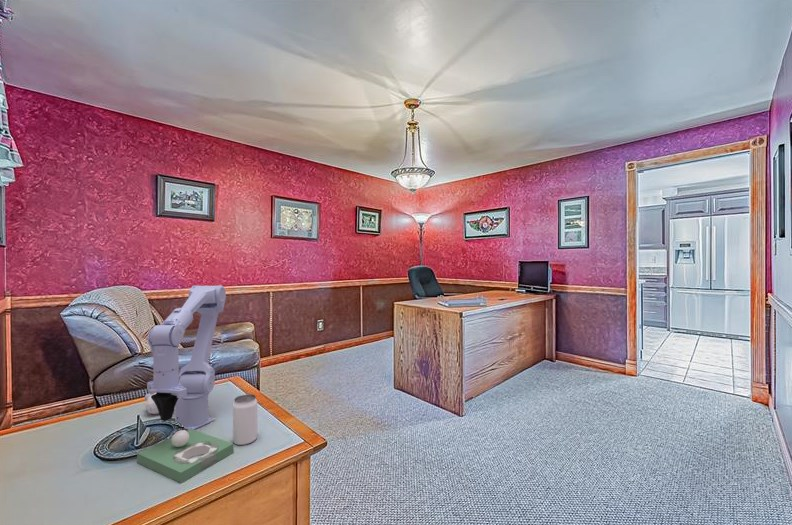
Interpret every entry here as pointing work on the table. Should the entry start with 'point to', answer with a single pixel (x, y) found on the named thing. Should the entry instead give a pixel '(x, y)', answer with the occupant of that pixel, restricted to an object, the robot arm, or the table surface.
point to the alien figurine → (151, 404)
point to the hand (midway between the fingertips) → (166, 419)
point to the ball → (180, 438)
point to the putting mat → (185, 455)
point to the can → (245, 419)
